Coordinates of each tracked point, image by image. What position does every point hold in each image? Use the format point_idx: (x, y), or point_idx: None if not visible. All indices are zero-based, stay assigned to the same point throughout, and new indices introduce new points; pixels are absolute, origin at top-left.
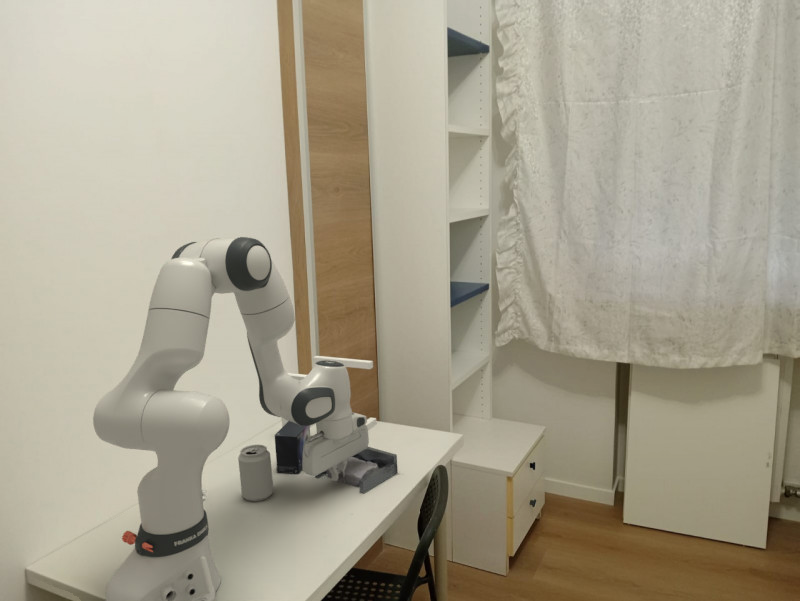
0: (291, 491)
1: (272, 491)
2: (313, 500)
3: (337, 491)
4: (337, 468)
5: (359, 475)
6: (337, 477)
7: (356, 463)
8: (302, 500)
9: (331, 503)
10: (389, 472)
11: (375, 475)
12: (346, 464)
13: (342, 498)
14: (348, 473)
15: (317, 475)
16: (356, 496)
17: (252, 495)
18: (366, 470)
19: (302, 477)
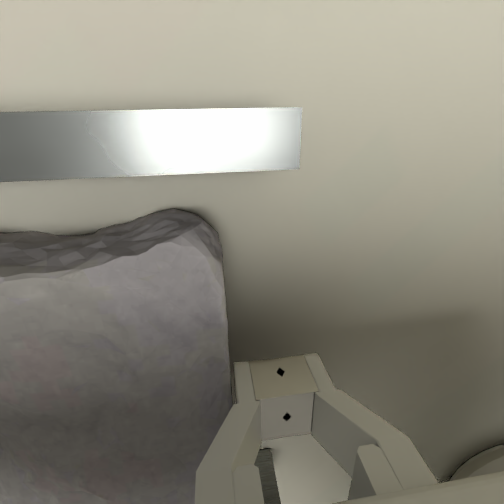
0: (423, 430)
1: (497, 465)
2: (469, 308)
3: (332, 288)
4: None
5: (182, 268)
6: (317, 368)
7: (46, 436)
8: (483, 345)
9: (473, 206)
10: None
11: (55, 111)
12: (211, 451)
13: (395, 197)
14: (221, 359)
15: (273, 467)
16: (330, 133)
17: None
18: (68, 278)
19: (299, 488)
